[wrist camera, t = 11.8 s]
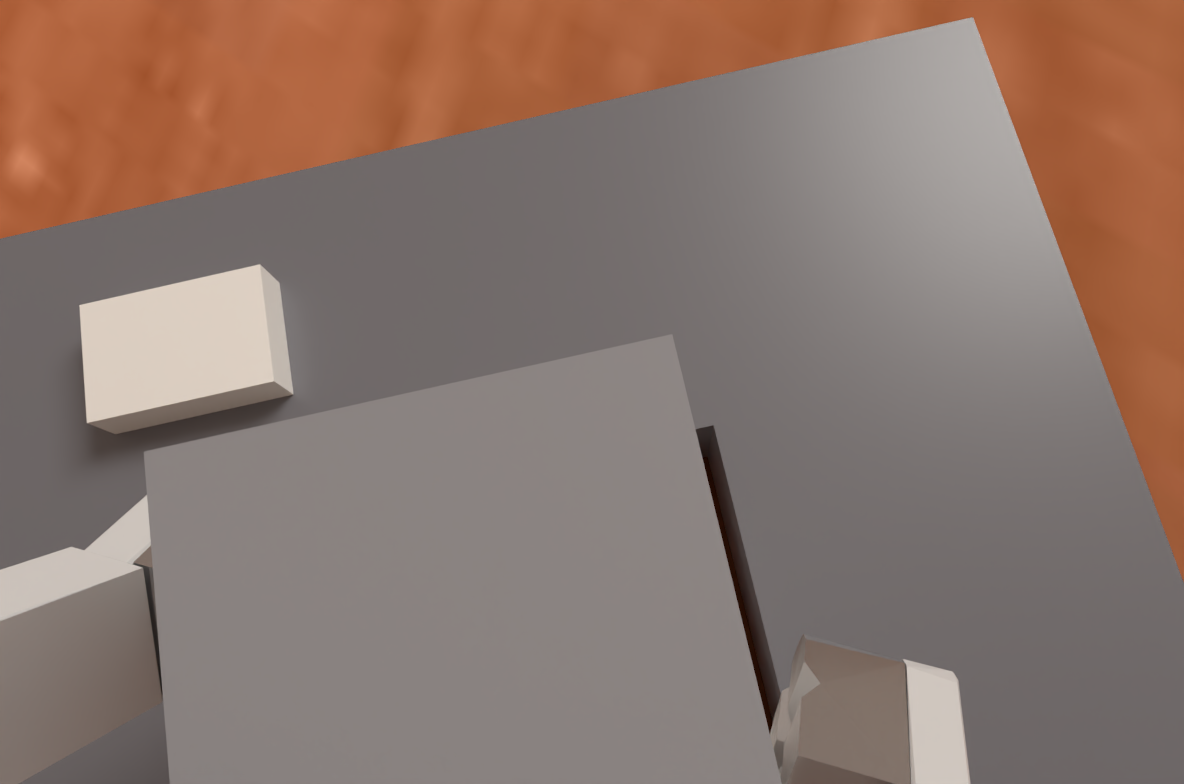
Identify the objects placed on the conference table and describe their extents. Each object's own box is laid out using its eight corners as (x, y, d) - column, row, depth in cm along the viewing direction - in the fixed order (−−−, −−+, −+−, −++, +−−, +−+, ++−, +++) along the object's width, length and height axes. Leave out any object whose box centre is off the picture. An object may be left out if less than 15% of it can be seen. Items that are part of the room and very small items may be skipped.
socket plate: (934, 98, 19) (987, -14, 16) (1305, 1158, 14) (1491, 1306, 11) (50, 298, 19) (-73, 228, 16) (110, 1400, 14) (-50, 1613, 11)
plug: (670, 510, 16) (671, 333, 7) (730, 766, 15) (818, 932, 6) (432, 561, 16) (143, 451, 7) (474, 821, 15) (191, 1064, 6)
